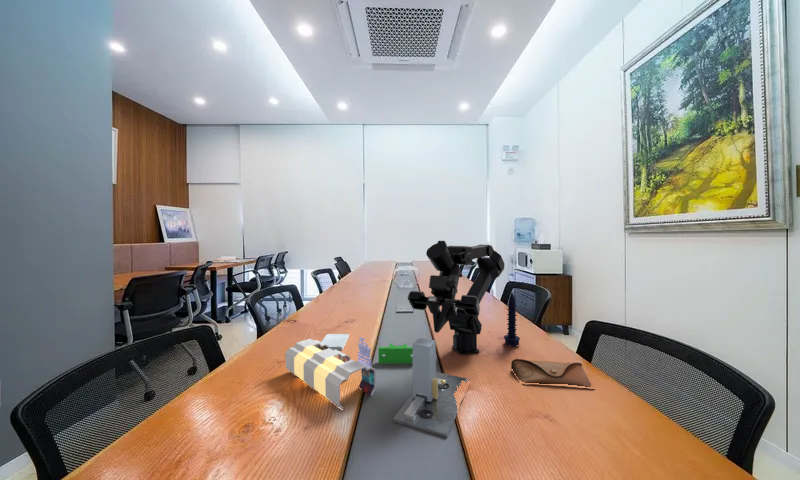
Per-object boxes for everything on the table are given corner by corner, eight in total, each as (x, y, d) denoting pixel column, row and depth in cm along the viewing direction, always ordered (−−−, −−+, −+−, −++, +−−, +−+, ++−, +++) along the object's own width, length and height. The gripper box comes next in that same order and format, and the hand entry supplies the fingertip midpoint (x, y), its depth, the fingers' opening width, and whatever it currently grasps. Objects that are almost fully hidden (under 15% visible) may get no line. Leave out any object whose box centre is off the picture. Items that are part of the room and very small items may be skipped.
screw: (516, 341, 100) (522, 347, 95) (501, 341, 100) (506, 347, 95) (516, 289, 100) (522, 292, 95) (501, 289, 100) (507, 292, 95)
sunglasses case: (519, 385, 71) (515, 356, 75) (512, 387, 78) (509, 359, 81) (598, 390, 69) (591, 360, 72) (585, 391, 75) (579, 363, 78)
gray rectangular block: (418, 388, 69) (418, 337, 68) (440, 393, 67) (439, 341, 66) (412, 397, 65) (411, 343, 65) (434, 402, 63) (434, 347, 63)
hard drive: (342, 347, 94) (348, 333, 106) (316, 347, 94) (326, 333, 106) (342, 352, 94) (349, 338, 106) (316, 352, 94) (326, 338, 106)
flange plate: (429, 372, 78) (429, 365, 78) (471, 381, 74) (471, 374, 74) (393, 421, 58) (392, 412, 58) (446, 437, 54) (446, 427, 54)
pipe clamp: (416, 358, 88) (417, 343, 88) (417, 364, 84) (417, 348, 84) (379, 358, 88) (379, 343, 88) (378, 363, 84) (378, 348, 84)
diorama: (376, 394, 68) (375, 339, 68) (338, 414, 61) (337, 352, 61) (320, 362, 86) (319, 317, 86) (285, 374, 79) (284, 326, 78)
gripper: (409, 262, 82) (392, 311, 72) (477, 264, 74) (468, 320, 65) (420, 285, 89) (405, 332, 80) (482, 290, 82) (475, 343, 72)
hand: (436, 331), depth 74 cm, fingers closed
